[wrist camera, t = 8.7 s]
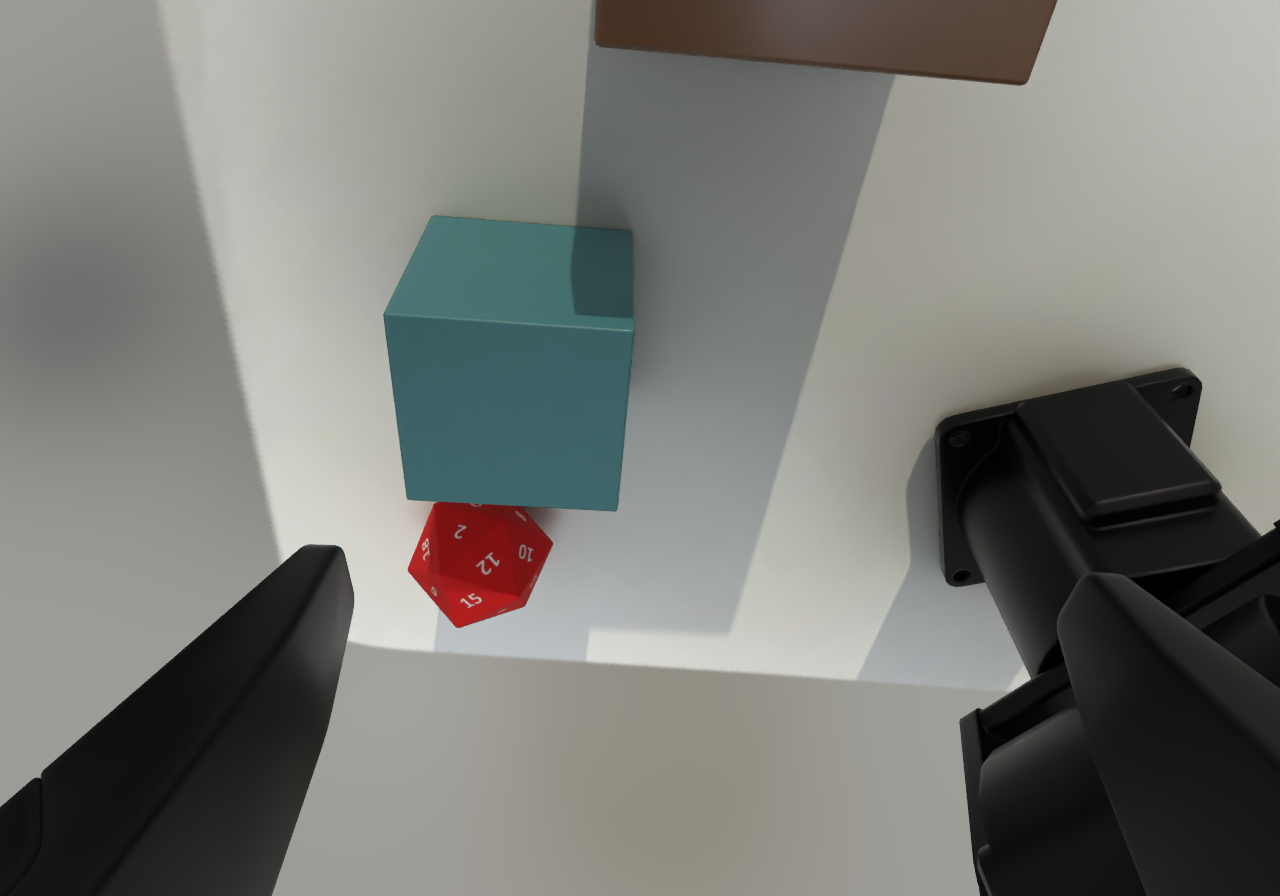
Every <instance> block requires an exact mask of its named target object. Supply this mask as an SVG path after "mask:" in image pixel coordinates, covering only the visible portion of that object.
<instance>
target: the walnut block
mask: <svg viewBox="0 0 1280 896" xmlns="http://www.w3.org/2000/svg"><path fill="white" fill-rule="evenodd" d="M1056 3H1057V0H596V3H595V25H594V41H595V44H596V45H598V46H599V47H605V48H616V49H627V50H638V51H649V52H660V53H670V54H681V55H692V56H703V57H714V58H725V59H735V60H746V61H757V62H768V63H779V64H789V65H800V66H811V67H822V68H833V69H844V70H854V71H865V72H876V73H887V74H898V75H909V76H919V77H930V78H941V79H952V80H963V81H974V82H984V83H995V84H1006V85H1017V86H1020V85H1024V84H1026V83H1027V81H1028V80H1029V77H1030V74H1031V71H1032V69H1033V66H1034V63H1035V60H1036V58H1037V55H1038V52H1039V49H1040V47H1041V44H1042V41H1043V38H1044V36H1045V33H1046V30H1047V27H1048V25H1049V22H1050V19H1051V16H1052V14H1053V11H1054V8H1055V5H1056Z"/></svg>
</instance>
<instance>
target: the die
mask: <svg viewBox="0 0 1280 896" xmlns="http://www.w3.org/2000/svg"><path fill="white" fill-rule="evenodd" d="M552 546H553V542H552V541H551V540H550V539H549V537H548V536H547V535H546V534H545V533H544V532H543V531H542V530H541V529H540V527H539V526H538V525H537V524H536V523H535V522H534V521H533V520H532V519H531V518H530V516H529V515H528V514H527V513H526V512H525V511H524V510H523V509H522V508H521V506H509V505H491V504H473V503H455V502H437V503H435V504H434V505H433V508H432V510H431V513H430V515H429V518H428V520H427V522H426V525H425V527H424V530H423V532H422V535H421V537H420V540H419V542H418V545H417V547H416V550H415V552H414V554H413V557H412V559H411V562H410V564H409V567H408V572H409V573H410V574H411V575H412V576H413V578H414V579H415V580H416V581H417V582H418V583H419V585H420V586H421V587H422V588H423V589H424V591H425V592H426V593H427V594H428V595H429V596H430V598H431V599H432V600H433V601H434V602H435V603H436V605H437V606H438V607H439V608H440V609H441V610H442V612H443V613H444V614H445V615H446V616H447V617H448V619H449V620H450V621H451V622H452V623H453V624H454V626H455V627H457V628H461V627H464V626H467V625H470V624H473V623H476V622H479V621H482V620H485V619H488V618H491V617H494V616H497V615H500V614H503V613H506V612H509V611H513V610H516V609H519V608H522V607H524V606H525V605H526V603H527V601H528V599H529V596H530V594H531V592H532V590H533V588H534V585H535V583H536V581H537V579H538V577H539V574H540V572H541V570H542V568H543V565H544V563H545V561H546V559H547V557H548V554H549V552H550V550H551V548H552Z"/></svg>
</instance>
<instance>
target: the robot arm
mask: <svg viewBox="0 0 1280 896" xmlns="http://www.w3.org/2000/svg"><path fill="white" fill-rule="evenodd" d="M1180 385H1181V387H1179V388H1178V389H1177V390H1175V391H1173V390H1174V389H1175V388H1176V387H1178V386H1180ZM1172 391H1173V392H1172ZM1201 391H1202V382H1201V381H1200V380H1199V379H1198V378H1197V377H1196V376H1195V375H1194V374H1193V373H1192V372H1191V371H1190V370H1188V369H1185V368H1174V369H1169V370H1165V371H1160V372H1155V373H1151V374H1146V375H1141V376H1136V377H1132V378H1127V379H1122V380H1118V381H1113V382H1108V383H1103V384H1099V385H1094V386H1089V387H1085V388H1080V389H1075V390H1070V391H1066V392H1061V393H1056V394H1052V395H1047V396H1042V397H1037V398H1033V399H1028V400H1023V401H1019V402H1014V403H1009V404H1004V405H1000V406H995V407H990V408H986V409H981V410H976V411H971V412H967V413H962V414H957V415H953V416H950V417H948V418H945V419H944V420H943V421H941V422H940V423H939V425H938V426H937V427H936V431H935V447H936V469H937V491H938V512H939V534H940V555H941V570H942V573H943V575H944V578H945V580H946V582H947V583H948V584H949V585H950V586H955V587H961V586H967V585H973V584H978V583H984V582H986V584H987V586H988V588H989V590H990V593H991V595H992V597H993V599H994V601H995V603H996V605H997V607H998V609H999V612H1000V614H1001V616H1002V618H1003V620H1004V622H1005V624H1006V626H1007V629H1008V631H1009V633H1010V635H1011V637H1012V639H1013V641H1014V643H1015V645H1016V648H1017V650H1018V652H1019V654H1020V656H1021V658H1022V660H1023V662H1024V665H1025V667H1026V669H1027V671H1028V673H1029V675H1030V677H1031V680H1030V681H1028V682H1026V683H1025V684H1023V685H1022V686H1020V687H1018V688H1017V689H1015V690H1014V691H1012V692H1010V693H1009V694H1007V695H1006V696H1004V697H1002V698H1001V699H999V700H998V701H996V702H994V703H993V704H991V705H989V706H988V707H986V708H985V709H983V710H982V709H979V708H977V709H976V710H974V711H972V712H971V713H969V714H968V715H966V716H964V717H963V718H961V719H960V731H961V742H962V752H963V762H964V772H965V782H966V792H967V802H968V812H969V822H970V832H971V842H972V852H973V862H974V867H975V873H976V877H977V883H978V886H979V891H980V896H1280V520H1278V521H1276V522H1275V523H1273V524H1274V526H1275V527H1276V528H1274V529H1273V530H1271V531H1270V532H1268V533H1266V534H1265V535H1263V536H1261V535H1260V534H1259V533H1258V532H1257V530H1256V529H1255V528H1254V527H1253V526H1252V525H1251V524H1250V523H1249V521H1248V520H1247V519H1246V518H1245V517H1244V516H1243V515H1242V514H1241V512H1240V511H1239V510H1238V509H1237V508H1236V507H1235V506H1234V505H1233V503H1232V502H1231V501H1230V500H1229V499H1228V498H1227V497H1226V496H1225V494H1224V493H1223V492H1222V491H1221V489H1222V487H1221V484H1220V482H1219V481H1218V480H1217V479H1216V478H1215V476H1214V475H1213V474H1212V473H1211V472H1210V471H1209V470H1208V469H1207V468H1206V466H1205V465H1204V464H1203V463H1202V462H1201V461H1200V460H1199V459H1198V458H1197V456H1196V455H1195V454H1194V453H1193V452H1192V451H1191V450H1190V444H1191V439H1192V434H1193V430H1194V425H1195V420H1196V415H1197V410H1198V406H1199V401H1200V396H1201ZM958 431H963V432H962V433H961V434H960V435H958V436H956V437H950V436H952V435H953V434H954V433H956V432H958ZM353 609H354V591H353V587H352V583H351V578H350V574H349V570H348V566H347V562H346V558H345V554H344V552H343V550H342V548H341V547H339V546H336V545H313V544H310V545H306V546H304V547H302V548H300V549H299V550H298V551H297V552H295V553H294V554H293V555H292V556H291V557H290V558H288V559H287V560H286V561H285V562H284V563H283V564H281V565H280V566H279V567H278V568H277V569H276V570H275V571H274V572H272V573H271V574H270V575H269V576H268V577H266V578H265V579H264V580H263V581H262V582H261V583H259V584H258V585H257V586H256V587H255V588H254V589H253V590H251V591H250V592H249V593H248V594H247V595H246V596H244V597H243V598H242V599H241V600H240V601H239V602H238V603H236V604H235V605H234V606H233V607H232V608H231V609H229V610H228V611H227V612H226V613H225V614H224V615H222V616H221V617H220V618H219V619H218V620H217V621H216V622H214V623H213V624H212V625H211V626H210V627H209V628H207V629H206V630H205V631H204V632H203V633H202V634H200V635H199V636H198V637H197V638H196V639H195V640H194V641H192V642H191V643H190V644H189V645H188V646H187V647H185V649H183V650H182V651H181V652H180V653H179V654H177V655H176V656H175V657H174V658H173V659H172V660H170V661H169V662H168V663H167V664H166V665H165V666H163V667H162V668H161V669H160V670H159V671H158V672H157V673H156V674H154V675H153V676H152V677H151V678H150V679H148V680H147V681H146V682H145V683H144V684H143V685H141V687H139V688H138V689H137V690H136V691H135V692H133V693H132V694H131V695H130V696H129V697H128V698H126V699H125V700H124V701H123V702H122V703H121V704H119V705H118V706H117V707H116V708H115V709H114V710H113V711H112V712H110V713H109V714H108V715H107V716H106V717H104V718H103V719H102V720H101V721H100V722H99V723H97V724H96V725H95V726H94V727H93V728H92V729H91V730H89V731H88V732H87V733H86V734H85V735H84V736H82V737H81V738H80V739H79V740H78V741H77V742H76V743H75V744H73V745H72V746H71V747H70V748H69V749H67V750H66V751H65V752H64V753H63V754H62V755H61V756H59V757H58V758H57V759H56V760H55V761H54V762H52V763H51V764H50V765H49V766H48V767H47V768H45V769H44V770H43V772H42V774H41V778H34V779H33V780H31V781H30V782H29V783H28V784H26V786H24V787H23V788H22V789H21V790H20V791H18V792H17V793H16V794H15V795H14V796H13V797H11V798H10V799H9V800H8V801H7V802H6V803H4V804H3V805H2V806H1V807H0V896H272V893H273V890H274V887H275V884H276V881H277V878H278V875H279V872H280V870H281V866H282V863H283V861H284V858H285V855H286V852H287V849H288V846H289V843H290V840H291V837H292V834H293V831H294V828H295V825H296V822H297V819H298V816H299V814H300V811H301V807H302V805H303V802H304V799H305V796H306V793H307V790H308V787H309V784H310V781H311V778H312V775H313V772H314V769H315V766H316V763H317V760H318V758H319V755H320V752H321V748H322V745H323V742H324V739H325V736H326V732H327V729H328V725H329V721H330V717H331V712H332V708H333V703H334V699H335V694H336V689H337V684H338V680H339V675H340V670H341V666H342V661H343V656H344V652H345V647H346V642H347V638H348V633H349V628H350V624H351V619H352V614H353Z"/></svg>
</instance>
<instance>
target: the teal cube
mask: <svg viewBox="0 0 1280 896" xmlns="http://www.w3.org/2000/svg"><path fill="white" fill-rule="evenodd" d="M383 316H384V324H385V332H386V340H387V348H388V355H389V363H390V371H391V379H392V387H393V395H394V402H395V410H396V418H397V426H398V434H399V441H400V449H401V457H402V465H403V473H404V480H405V488H406V496H407V499H408V500H419V501H437V502H455V503H473V504H491V505H509V506H528V507H546V508H564V509H582V510H600V511H617V509H618V501H619V490H620V479H621V469H622V458H623V448H624V437H625V426H626V416H627V405H628V395H629V384H630V374H631V363H632V352H633V342H634V267H633V232H632V231H623V230H611V229H598V228H585V227H572V226H559V225H546V224H534V223H521V222H508V221H495V220H482V219H469V218H456V217H444V216H431V219H430V221H429V223H428V225H427V227H426V229H425V231H424V233H423V235H422V237H421V239H420V241H419V243H418V245H417V247H416V249H415V251H414V253H413V255H412V257H411V259H410V261H409V263H408V265H407V267H406V269H405V271H404V273H403V275H402V277H401V279H400V281H399V283H398V285H397V287H396V289H395V291H394V293H393V295H392V297H391V299H390V301H389V304H388V306H387V308H386V310H385V312H384V314H383Z"/></svg>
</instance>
